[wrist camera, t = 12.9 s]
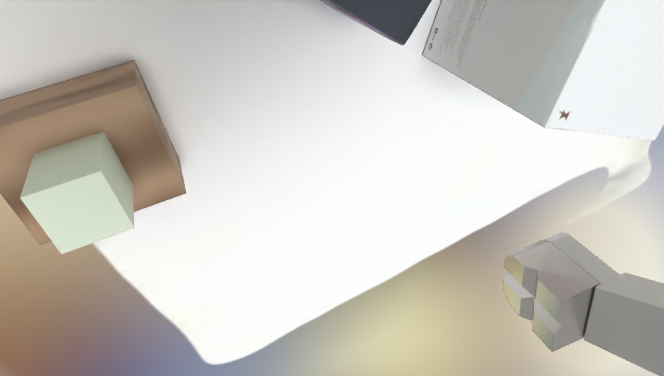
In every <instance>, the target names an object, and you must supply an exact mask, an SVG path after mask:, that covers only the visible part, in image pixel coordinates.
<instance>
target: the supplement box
mask: <svg viewBox="0 0 664 376" xmlns="http://www.w3.org/2000/svg"><path fill="white" fill-rule="evenodd" d="M423 56H424V57H426V58H427V59H429V60H431V61H432V62H434V63H436V64H437V65H439V66H441V67H442V68H444V69H446V70H448V71H449V72H451V73H453V74H454V75H456V76H458V77H459V78H461V79H463V80H464V81H466V82H468V83H470V84H471V85H473V86H475V87H476V88H478V89H480V90H481V91H483V92H485V93H486V94H488V95H490V96H492V97H493V98H495V99H497V100H498V101H500V102H502V103H503V104H505V105H507V106H508V107H510V108H512V109H514V110H515V111H517V112H519V113H520V114H522V115H524V116H525V117H527V118H529V119H530V120H532V121H534V122H536V123H537V124H539V125H541V126H542V127H544V128H550V129H560V130H571V131H581V132H589V133H597V134H605V135H613V136H621V137H630V138H638V139H646V140H655V139H656V137H657V135H658V134H659V132H660V130H661V128H662V127H663V125H664V0H442V1H441V4H440V7H439V10H438V13H437V15H436V18H435V21H434V24H433V27H432V30H431V33H430V36H429V38H428V41H427V44H426V47H425V49H424V52H423Z"/></svg>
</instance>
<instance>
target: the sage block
mask: <svg viewBox="0 0 664 376" xmlns="http://www.w3.org/2000/svg"><path fill="white" fill-rule="evenodd" d="M20 199H21V200H22V201H23V203H24V204H25V205H26V207H27V208H28V210H29V211H30V212H31V214H32V215H33V216H34V218H35V219H36V220H37V222H38V223H39V224H40V226H41V227H42V228H43V230H44V231H45V232H46V234H47V235H48V237H49V238H50V239H51V241H52V242H53V243H54V245H55V246H56V247H57V249H58V250H59V251H60V253H61V254H63V253H66V252H69V251H72V250H75V249H77V248H80V247H83V246H86V245H88V244H91V243H94V242H97V241H99V240H102V239H105V238H108V237H110V236H113V235H116V234H119V233H121V232H124V231H127V230H130V229H132V228H134V208H133V184H132V182H131V180H130V179H129V177H128V175H127V173H126V171H125V169H124V168H123V166H122V164H121V162H120V160H119V158H118V156H117V155H116V153H115V151H114V149H113V147H112V145H111V144H110V142H109V140H108V138H107V136H106V134H105V133H104V131H103V132H100V133H97V134H94V135H91V136H87V137H84V138H81V139H78V140H75V141H72V142H69V143H66V144H63V145H60V146H56V147H53V148H50V149H47V150H44V151H41V152H38V153H35V154H34V155H33V159H32V162H31V165H30V168H29V171H28V174H27V177H26V181H25V184H24V187H23V190H22V193H21V196H20Z"/></svg>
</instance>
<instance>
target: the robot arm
mask: <svg viewBox="0 0 664 376" xmlns="http://www.w3.org/2000/svg"><path fill="white" fill-rule="evenodd" d="M504 268H505V269H506V270H507V271H508V274H507V275H506V277H505V278H504V280H503V287H504V288H503V290H504V292H505V295H506V298H507V300H508V302H509V304H510V305H511V307H512V308H513V309H514V310H515V312H516V313H517V314H518V315H519V316H521V317H523V318H526V319H529V320H531V322H532V330H533V332H534V333H535V334H536V335H537V336H538V337H539V338H540V339H541V340H542V341H543V343H544V344H545V345H546V346H547V347H548V348H549V349H550V350H551V351H552V352H553V351H555V350H558V349H560V348H562V347H564V346H567V345H569V344H571V343H573V342H575V341H578V340H580V339H582V338H584V340H585V341H587V342H589V343H592V344H593V345H596V346H598V347H600V348H602V349H604V350H606V351H608V352H610V353H613V354H615V355H617V356H619V357H621V358H623V359H625V360H627V361H630V362H631V363H634V364H636V365H638V366H640V367H643V368H644V369H646V370H648V371H651V372H653V373H655V374H657V375H659V376H664V284H663V283H660V282H656V281H653V280H649V279H646V278H642V277H638V276H635V275H631V274H628V273H624V274H621V275H619V274H618V273H617V272H616V271H614V270H613V269H612V268H611V267H609V266H608V265H607V264H606V263H604V262H603V261H602V260H600V259H599V258H598V257H597V256H595V255H594V254H593V253H592V252H590V251H589V250H588V249H587V248H585V247H584V246H583V245H582V244H580V243H579V242H578V241H576V240H575V239H574V238H573V237H571V236H570V235H569V234H567V233H564V232H561V233H557V234H555V235H553V236H551V237H549V238H547V239H545V240H541V241H538V242H536V243H534V244H532V245H530V246H528V247H525V248H523V249H521V250H519V251H517V252H514V253H512V254H510V255H508V256H507V257H506V258H505V261H504Z"/></svg>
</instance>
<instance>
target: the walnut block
mask: <svg viewBox="0 0 664 376" xmlns="http://www.w3.org/2000/svg"><path fill="white" fill-rule="evenodd" d="M103 131H104V133H105V134H106V136H107V138H108V140H109V142H110V144H111V145H112V147H113V149H114V151H115V153H116V155H117V156H118V158H119V160H120V162H121V164H122V166H123V168H124V169H125V171H126V173H127V175H128V177H129V179H130V180H131V182H132V184H133V208H134V212H135V211H138V210H141V209H143V208H146V207H149V206H152V205H155V204H157V203H160V202H163V201H166V200H169V199H171V198H174V197H177V196H180V195H183V194H185V193H186V190H185V185H184V180H183V175H182V170H181V165H180V160H179V158H178V156H177V153H176V151H175V149H174V147H173V145H172V142H171V140H170V138H169V136H168V134H167V131H166V129H165V127H164V125H163V122H162V120H161V118H160V116H159V114H158V111H157V109H156V107H155V105H154V103H153V100H152V98H151V96H150V94H149V92H148V89H147V87H146V85H145V83H144V81H143V78H142V76H141V74H140V72H139V69H138V67H137V65H136V63H135V61H131V62H127V63H124V64H121V65H117V66H114V67H111V68H107V69H104V70H101V71H97V72H94V73H91V74H87V75H84V76H81V77H77V78H74V79H71V80H67V81H64V82H60V83H57V84H54V85H50V86H47V87H44V88H40V89H37V90H34V91H30V92H27V93H24V94H20V95H17V96H14V97H10V98H7V99H4V100H0V193H1V195H2V196H3V197H4V199H5V200H6V201H7V202H8V204H9V205H10V206H11V208H12V209H13V210H14V212H15V213H16V214H17V215H18V217H19V218H20V220H21V221H22V222H23V223H24V225H25V226H26V227H27V229H28V230H29V231H30V232H31V234H32V235H33V236H34V238H35V239H36V240H37V242H38V243H39V244H40V245H42V244H45V243H48V242H51V239H50V238H49V237H48V235H47V234H46V232H45V231H44V230H43V228H42V227H41V226H40V224H39V223H38V222H37V220H36V219H35V218H34V216H33V215H32V214H31V212H30V211H29V210H28V208H27V207H26V205H25V204H24V203H23V201H22V200H21V199H20V196H21V193H22V190H23V187H24V184H25V181H26V177H27V174H28V171H29V168H30V165H31V162H32V159H33V155H34V154H35V153H38V152H41V151H44V150H47V149H50V148H53V147H56V146H60V145H63V144H66V143H69V142H72V141H75V140H78V139H81V138H84V137H87V136H91V135H94V134H97V133H100V132H103Z"/></svg>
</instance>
